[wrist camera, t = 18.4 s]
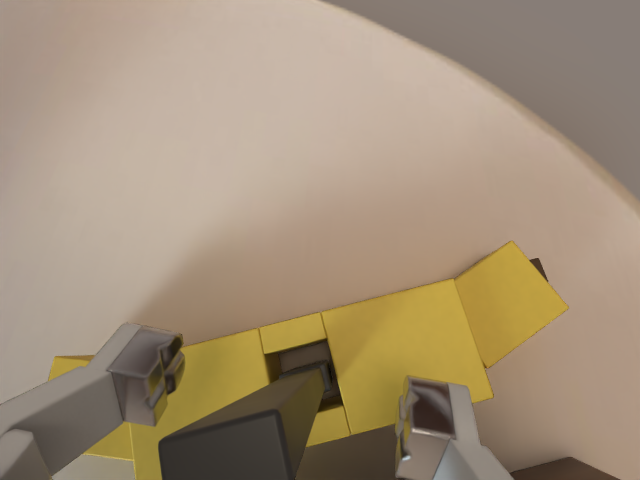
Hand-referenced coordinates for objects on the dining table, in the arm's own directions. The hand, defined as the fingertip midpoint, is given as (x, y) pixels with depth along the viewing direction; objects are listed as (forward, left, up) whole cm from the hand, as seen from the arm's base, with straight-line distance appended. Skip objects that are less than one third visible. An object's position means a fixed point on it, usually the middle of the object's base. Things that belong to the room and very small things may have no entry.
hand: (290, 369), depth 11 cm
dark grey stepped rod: (0, -1, -10) cm, 10 cm away
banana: (0, -1, -10) cm, 10 cm away
